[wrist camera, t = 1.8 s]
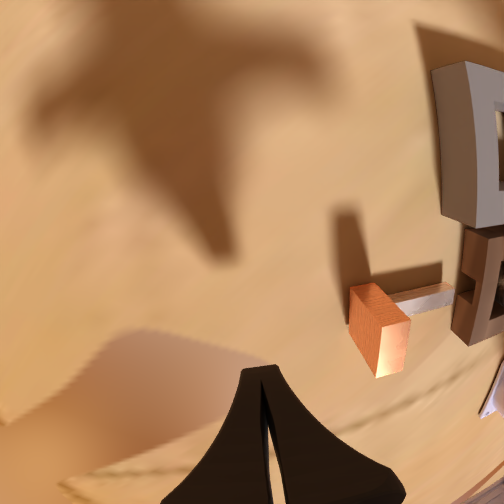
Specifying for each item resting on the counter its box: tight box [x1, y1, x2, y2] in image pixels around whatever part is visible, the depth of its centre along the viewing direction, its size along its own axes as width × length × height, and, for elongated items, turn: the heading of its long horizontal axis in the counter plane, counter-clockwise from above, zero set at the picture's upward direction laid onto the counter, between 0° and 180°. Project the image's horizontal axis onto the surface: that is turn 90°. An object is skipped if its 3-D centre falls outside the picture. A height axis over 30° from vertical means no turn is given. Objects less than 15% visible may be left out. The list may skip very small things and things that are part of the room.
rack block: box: [431, 61, 504, 228], centre depth 12 cm, size 8×8×3 cm
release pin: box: [349, 282, 455, 378], centre depth 14 cm, size 6×3×4 cm, turn 97°
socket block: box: [451, 224, 504, 347], centre depth 15 cm, size 7×7×2 cm
